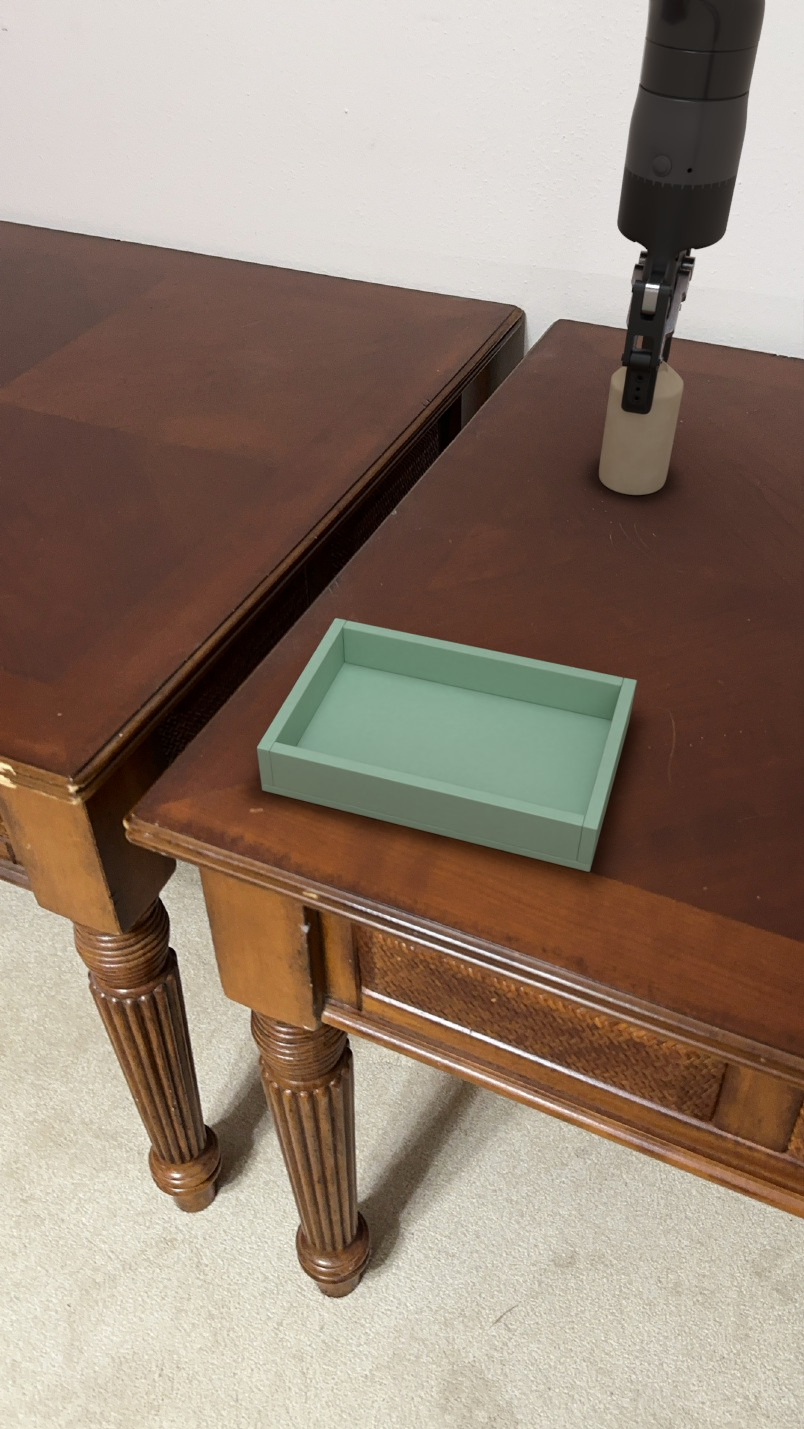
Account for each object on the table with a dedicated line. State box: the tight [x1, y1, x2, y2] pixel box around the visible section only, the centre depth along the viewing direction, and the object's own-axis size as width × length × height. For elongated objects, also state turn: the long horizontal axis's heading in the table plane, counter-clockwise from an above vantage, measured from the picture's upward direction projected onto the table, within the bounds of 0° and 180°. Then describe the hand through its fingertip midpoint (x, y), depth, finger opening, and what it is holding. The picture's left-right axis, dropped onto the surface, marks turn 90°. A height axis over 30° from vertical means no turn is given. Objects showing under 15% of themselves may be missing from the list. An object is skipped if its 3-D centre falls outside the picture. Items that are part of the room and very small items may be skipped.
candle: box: [598, 361, 685, 496], centre depth 87 cm, size 6×6×10 cm
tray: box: [256, 617, 638, 873], centre depth 66 cm, size 20×13×4 cm, turn 72°
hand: (644, 385), depth 85 cm, fingers open, 8 cm apart
